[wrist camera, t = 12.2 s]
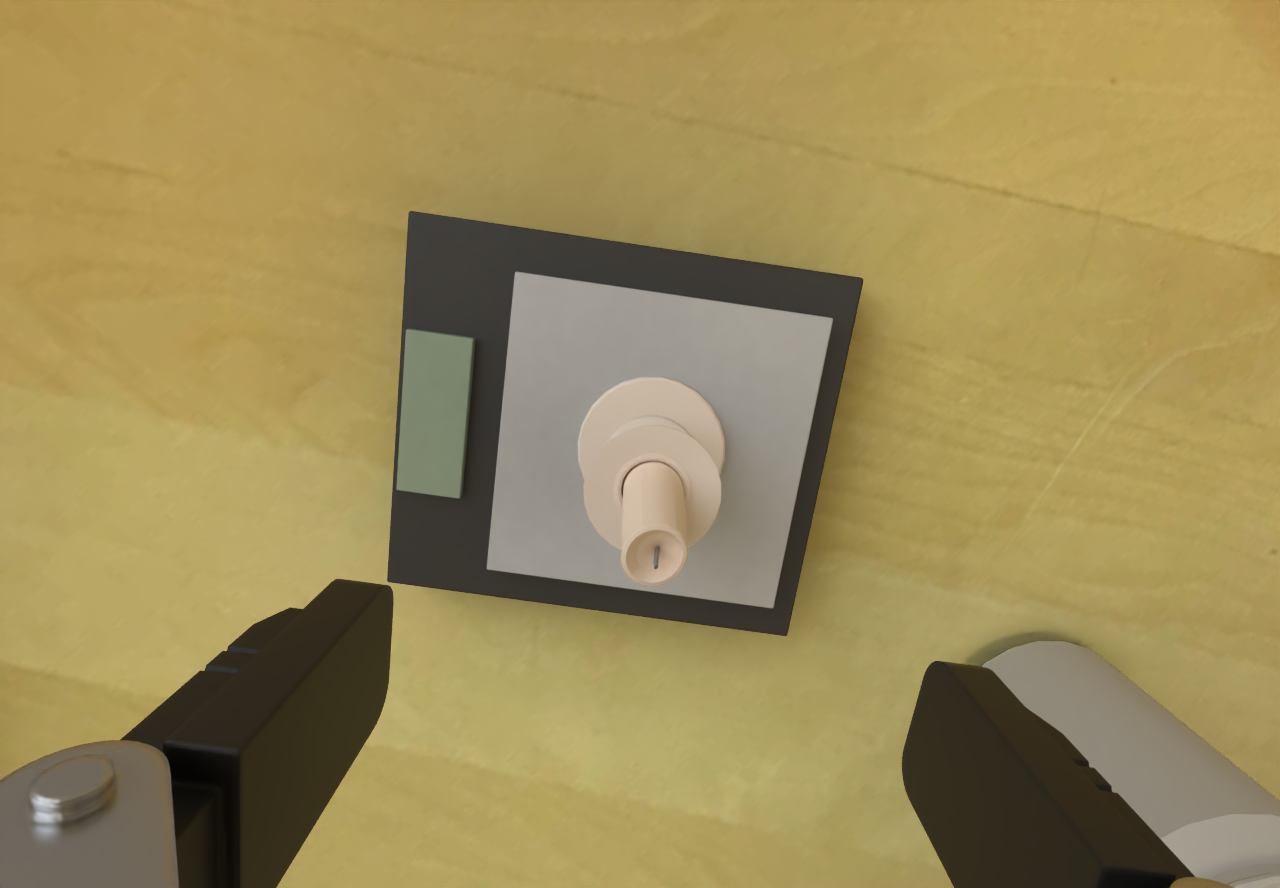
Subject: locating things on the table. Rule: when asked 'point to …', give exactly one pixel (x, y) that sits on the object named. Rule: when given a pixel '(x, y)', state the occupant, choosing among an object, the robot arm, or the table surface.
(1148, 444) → the table surface
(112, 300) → the table surface
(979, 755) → the robot arm
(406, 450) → the scale
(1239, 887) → the can
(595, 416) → the candle
